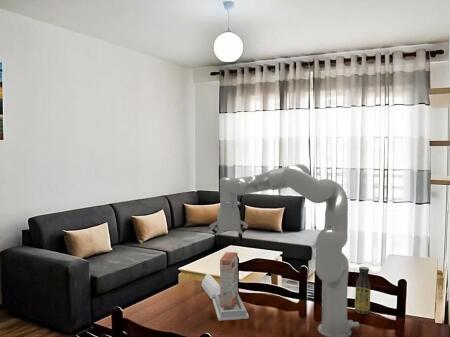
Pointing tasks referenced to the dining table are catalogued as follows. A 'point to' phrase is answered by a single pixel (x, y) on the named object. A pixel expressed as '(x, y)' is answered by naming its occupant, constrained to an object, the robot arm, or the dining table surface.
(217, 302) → the grey rectangular tray
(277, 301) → the dining table surface
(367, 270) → the sauce bottle
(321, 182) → the robot arm
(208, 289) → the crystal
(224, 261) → the cracker box
